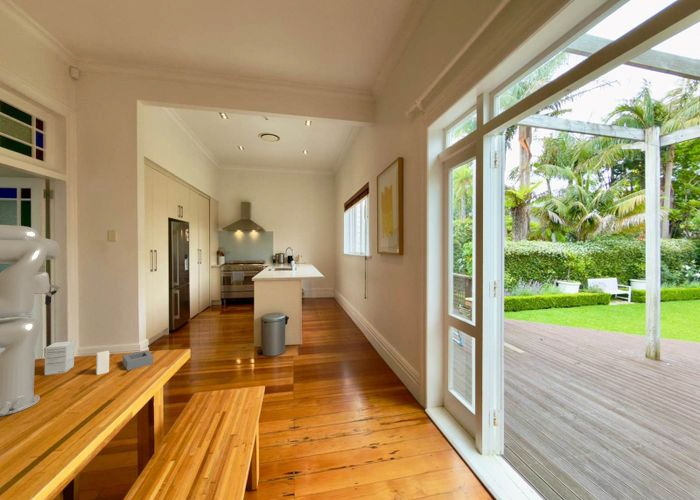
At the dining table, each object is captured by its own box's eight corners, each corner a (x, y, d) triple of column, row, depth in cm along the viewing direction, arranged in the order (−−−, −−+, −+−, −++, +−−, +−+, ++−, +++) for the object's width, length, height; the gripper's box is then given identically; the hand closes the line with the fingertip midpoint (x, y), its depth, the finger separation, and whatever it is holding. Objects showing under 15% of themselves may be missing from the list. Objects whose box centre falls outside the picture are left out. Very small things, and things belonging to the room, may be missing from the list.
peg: (108, 372, 122) (109, 352, 122) (97, 375, 119) (97, 355, 119) (107, 369, 125) (108, 350, 125) (95, 372, 122) (96, 352, 122)
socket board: (153, 364, 132) (153, 356, 132) (127, 370, 124) (127, 362, 124) (147, 357, 139) (147, 350, 139) (122, 363, 132) (122, 355, 132)
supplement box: (53, 369, 124) (54, 342, 124) (74, 366, 127) (75, 340, 127) (43, 375, 117) (44, 347, 118) (65, 372, 121) (66, 345, 121)
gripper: (4, 271, 114) (3, 310, 114) (62, 269, 129) (60, 304, 129) (1, 270, 118) (0, 308, 118) (57, 269, 133) (56, 302, 133)
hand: (31, 306), depth 123 cm, fingers open, 9 cm apart
